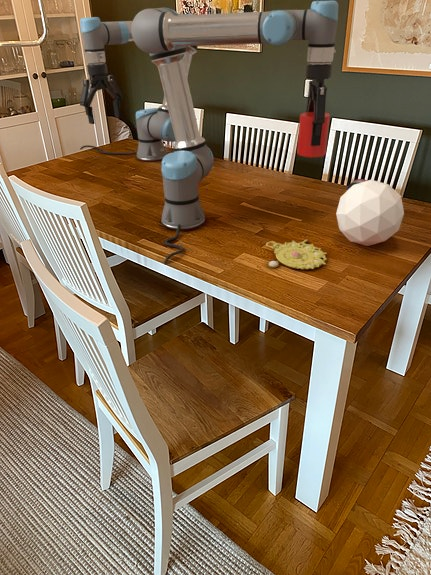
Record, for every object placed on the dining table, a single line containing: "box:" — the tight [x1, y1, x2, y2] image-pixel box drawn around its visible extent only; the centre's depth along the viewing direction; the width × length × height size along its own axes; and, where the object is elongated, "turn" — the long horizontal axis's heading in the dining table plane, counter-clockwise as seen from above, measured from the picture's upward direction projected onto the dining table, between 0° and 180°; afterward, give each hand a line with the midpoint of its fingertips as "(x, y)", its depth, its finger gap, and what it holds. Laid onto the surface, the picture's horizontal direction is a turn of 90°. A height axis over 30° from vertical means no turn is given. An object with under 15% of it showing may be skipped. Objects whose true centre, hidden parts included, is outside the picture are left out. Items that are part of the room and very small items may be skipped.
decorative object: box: [265, 238, 328, 270], centre depth 132 cm, size 21×2×20 cm
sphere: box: [335, 179, 405, 247], centre depth 135 cm, size 19×20×20 cm
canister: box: [296, 111, 331, 158], centre depth 141 cm, size 9×9×12 cm
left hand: (105, 120), depth 184 cm, fingers open, 13 cm apart
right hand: (312, 141), depth 142 cm, fingers closed on canister, 9 cm apart
